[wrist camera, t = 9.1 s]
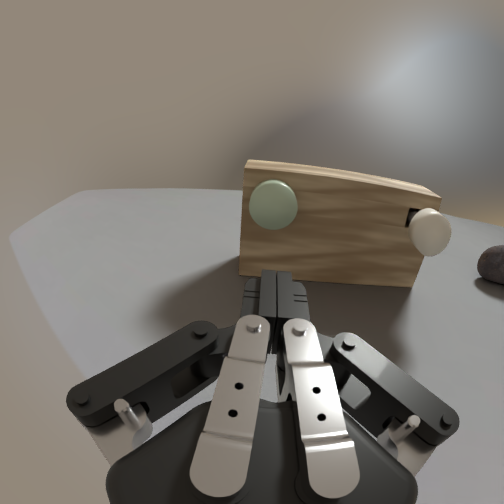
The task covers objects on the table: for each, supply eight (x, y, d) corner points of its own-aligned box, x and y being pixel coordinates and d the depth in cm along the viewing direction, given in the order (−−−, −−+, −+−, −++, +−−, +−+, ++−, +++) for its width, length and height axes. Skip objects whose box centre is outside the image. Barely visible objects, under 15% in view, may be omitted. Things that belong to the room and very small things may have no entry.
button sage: (294, 231, 26) (300, 186, 23) (247, 227, 26) (250, 182, 24) (290, 211, 31) (295, 173, 28) (251, 207, 31) (254, 169, 29)
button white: (443, 258, 23) (456, 219, 21) (411, 254, 23) (424, 212, 21) (420, 234, 28) (430, 200, 26) (390, 230, 28) (399, 193, 26)
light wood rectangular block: (412, 287, 30) (441, 198, 24) (238, 274, 31) (244, 167, 25) (398, 266, 35) (421, 185, 29) (242, 253, 35) (248, 159, 29)
